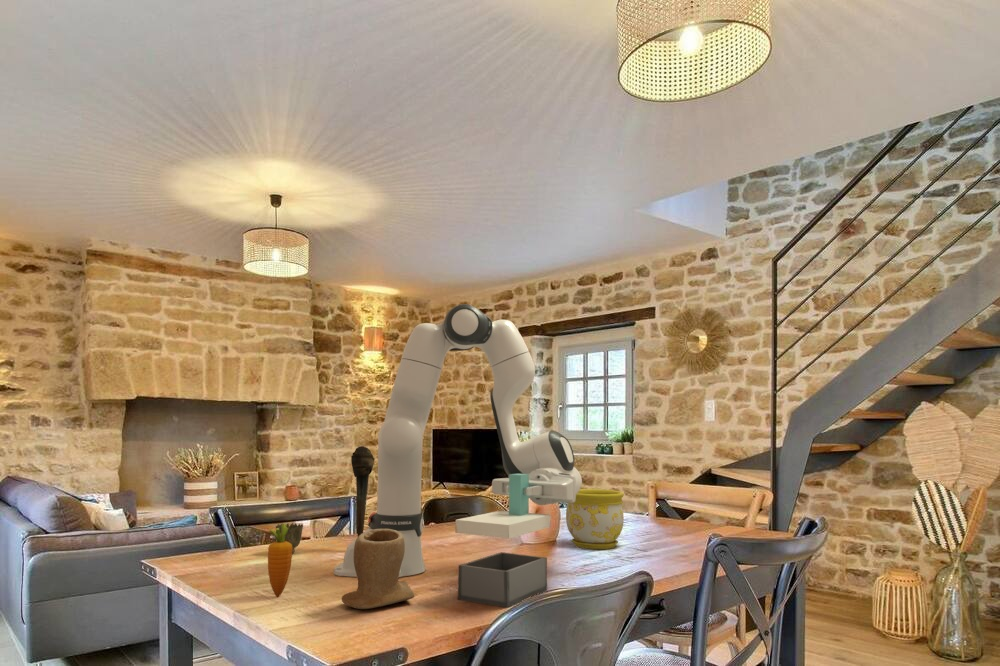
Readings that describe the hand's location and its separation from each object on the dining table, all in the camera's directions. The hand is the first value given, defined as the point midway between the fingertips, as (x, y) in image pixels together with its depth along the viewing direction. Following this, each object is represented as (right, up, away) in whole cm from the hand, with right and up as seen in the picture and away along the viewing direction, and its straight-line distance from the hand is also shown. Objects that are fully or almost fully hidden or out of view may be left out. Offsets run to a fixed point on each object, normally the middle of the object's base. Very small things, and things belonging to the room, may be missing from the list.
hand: (517, 490), depth 155 cm
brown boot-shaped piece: (-28, -20, -17) cm, 38 cm away
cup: (-64, -26, +35) cm, 77 cm away
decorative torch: (-45, -27, +39) cm, 65 cm away
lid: (-3, -7, -6) cm, 10 cm away
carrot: (-51, -20, -12) cm, 56 cm away
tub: (-3, -21, -8) cm, 23 cm away
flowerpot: (+25, -30, +53) cm, 66 cm away
